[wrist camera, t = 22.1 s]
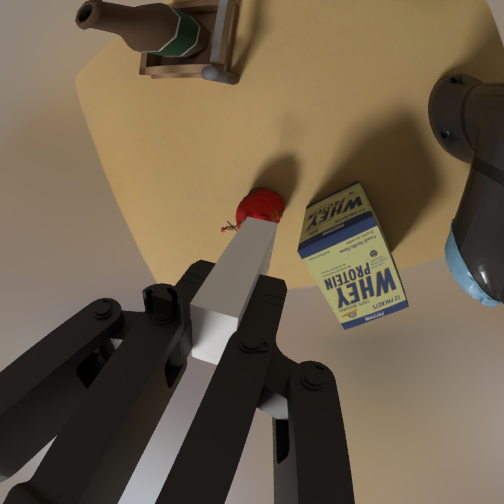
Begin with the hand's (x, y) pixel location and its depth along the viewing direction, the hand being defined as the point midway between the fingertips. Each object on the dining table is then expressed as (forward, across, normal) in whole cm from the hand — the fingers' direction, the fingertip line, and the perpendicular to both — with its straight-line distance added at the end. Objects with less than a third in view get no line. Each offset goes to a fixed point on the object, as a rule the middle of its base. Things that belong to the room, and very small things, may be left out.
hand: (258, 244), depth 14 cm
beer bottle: (+31, -21, +17) cm, 41 cm away
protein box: (+33, +11, -12) cm, 37 cm away
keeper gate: (+26, -13, +18) cm, 34 cm away
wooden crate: (+32, -20, +17) cm, 41 cm away
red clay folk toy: (+33, -5, -11) cm, 35 cm away
